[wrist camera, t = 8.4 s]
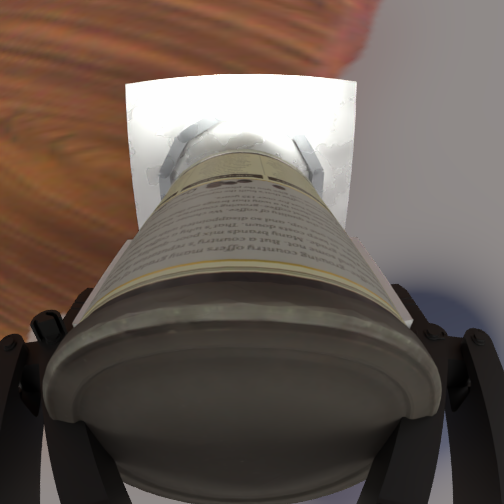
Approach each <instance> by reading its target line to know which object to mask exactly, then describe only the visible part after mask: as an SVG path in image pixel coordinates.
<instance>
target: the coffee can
mask: <svg viewBox="0 0 504 504" xmlns="http://www.w3.org/2000/svg"><path fill="white" fill-rule="evenodd" d="M441 392H442V386H441V380H440V376H439V372H438V369H437V367H436V365H435V363H434V361H433V359H432V357H431V356H430V354H429V352H428V351H427V349H426V348H425V346H424V345H423V343H422V342H421V341H420V339H419V338H418V337H417V336H416V335H415V333H414V332H413V331H412V330H410V329H409V328H408V327H407V325H406V324H405V322H404V321H403V319H402V317H401V316H400V314H399V312H398V311H397V309H396V307H395V306H394V304H393V302H392V301H391V299H390V298H389V296H388V294H387V293H386V291H385V290H384V288H383V287H382V285H381V283H380V282H379V280H378V279H377V277H376V276H375V274H374V273H373V271H372V270H371V268H370V267H369V265H368V264H367V262H366V261H365V259H364V258H363V256H362V255H361V254H360V252H359V251H358V249H357V248H356V246H355V245H354V243H353V242H352V240H351V239H350V238H349V236H348V235H347V233H346V232H345V230H344V229H343V228H342V226H341V225H340V223H339V222H338V221H337V219H336V218H335V217H334V215H333V214H332V212H331V211H330V210H329V208H328V207H327V205H326V204H325V203H324V202H323V200H322V199H321V198H320V196H319V195H318V193H317V191H316V189H315V188H314V187H313V185H312V183H311V182H310V181H309V179H308V178H307V177H306V176H305V175H304V174H303V173H302V172H301V171H300V170H298V169H297V168H296V167H295V166H293V165H292V164H290V163H289V162H287V161H285V160H283V159H282V158H279V157H277V156H275V155H272V154H269V153H266V152H262V151H257V150H252V149H238V150H227V151H223V152H219V153H215V154H212V155H210V156H207V157H205V158H203V159H201V160H199V161H197V162H196V163H194V164H193V165H191V166H190V167H189V168H187V169H186V170H184V171H183V172H182V173H181V174H180V175H179V177H178V178H177V179H176V180H175V181H174V182H173V184H172V185H171V187H170V188H169V190H168V192H167V193H166V195H165V197H164V198H163V199H162V201H161V202H160V203H159V205H158V206H157V207H156V209H155V210H154V211H153V213H152V214H151V215H150V217H149V218H148V219H147V220H146V222H145V223H144V224H143V226H142V227H141V229H140V230H139V232H138V233H137V234H136V236H135V237H134V239H133V240H132V241H131V243H130V244H129V246H128V247H127V249H126V250H125V252H124V253H123V255H122V256H121V257H120V259H119V260H118V262H117V263H116V265H115V266H114V268H113V269H112V270H111V272H110V274H109V275H108V277H107V278H106V280H105V282H104V283H103V285H102V286H101V288H100V289H99V291H98V293H97V294H96V296H95V297H94V299H93V300H92V302H91V304H90V305H89V307H88V309H87V310H86V312H85V313H84V315H83V317H82V318H81V320H80V322H79V324H77V325H76V326H75V327H74V328H73V329H72V330H70V331H69V332H68V334H67V335H66V336H65V337H64V339H63V340H62V341H61V343H60V344H59V346H58V347H57V349H56V351H55V352H54V354H53V355H52V357H51V359H50V360H49V362H48V364H47V367H46V371H45V375H44V378H43V398H44V402H45V406H46V409H47V411H48V413H49V416H50V417H51V418H52V419H53V420H61V421H65V422H69V423H76V422H77V421H80V420H82V421H84V422H85V423H86V425H87V426H88V427H89V429H90V430H91V432H92V433H93V434H94V436H95V437H96V438H97V440H98V441H99V442H100V444H101V445H102V446H103V447H104V449H105V450H106V451H107V452H108V454H109V455H110V456H111V457H112V458H113V460H114V461H115V463H116V465H117V468H118V471H119V473H120V476H121V478H122V481H123V482H124V483H126V484H129V485H131V486H133V487H136V488H138V489H141V490H143V491H146V492H149V493H152V494H155V495H158V496H161V497H165V498H169V499H173V500H177V501H182V502H187V503H191V504H292V503H298V502H303V501H307V500H312V499H316V498H319V497H322V496H326V495H330V494H333V493H335V492H338V491H342V490H344V489H347V488H349V487H352V486H354V485H356V484H358V483H360V482H362V481H364V480H366V479H367V476H368V473H369V471H370V468H371V465H372V462H373V459H374V457H375V456H376V455H377V453H378V452H379V451H380V449H381V448H382V447H383V445H384V444H385V442H386V441H387V440H388V438H389V437H390V435H391V434H392V432H393V431H394V429H395V428H396V426H397V425H398V423H399V421H400V420H401V418H402V417H407V418H409V419H417V418H421V417H425V416H433V415H434V414H436V413H437V411H438V408H439V404H440V400H441Z"/></svg>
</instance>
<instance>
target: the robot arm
mask: <svg viewBox="0 0 504 504" xmlns="http://www.w3.org/2000/svg"><path fill="white" fill-rule="evenodd" d="M349 238H350V239H351V240H352V242H353V243H354V245H355V246H356V248H357V249H358V251H359V252H360V254H361V255H362V256H363V258H364V259H365V261H366V262H367V264H368V265H369V267H370V268H371V270H372V271H373V273H374V274H375V276H376V277H377V279H378V280H379V282H380V283H381V285H382V287H383V288H384V290H385V291H386V293H387V294H388V296H389V298H390V299H391V301H392V302H393V304H394V306H395V307H396V309H397V311H398V312H399V314H400V316H401V317H402V319H403V321H404V322H405V324H406V325H407V327H408V328H409V329H410V330H412V331H413V332H414V333H415V335H416V336H417V337H418V338H419V339H420V341H421V342H422V343H423V345H424V346H425V348H426V349H427V351H428V352H429V354H430V356H431V357H432V359H433V361H434V363H435V365H436V367H437V369H438V372H439V376H440V380H441V386H442V392H441V400H440V404H439V408H438V411H437V413H436V414H434V415H433V416H425V417H421V418H417V419H409V418H407V417H402V418H401V420H400V421H399V423H398V425H397V426H396V428H395V429H394V431H393V432H392V434H391V435H390V437H389V438H388V440H387V441H386V442H385V444H384V445H383V447H382V448H381V449H380V451H379V452H378V453H377V455H376V456H375V457H374V459H373V462H372V465H371V468H370V471H369V473H368V476H367V479H366V482H365V484H364V487H363V489H362V492H361V495H360V497H359V499H358V501H357V504H428V500H429V496H430V492H431V488H432V484H433V479H434V474H435V470H436V465H437V459H438V454H439V448H440V442H441V435H442V428H443V419H444V411H445V413H446V420H447V427H448V435H449V444H450V454H451V466H452V481H453V504H504V370H503V368H502V365H501V363H500V360H499V357H498V355H497V352H496V350H495V348H494V345H493V342H492V340H491V338H490V337H489V336H488V334H486V333H485V332H484V331H482V330H480V329H476V328H470V329H468V330H467V331H466V332H465V334H464V337H463V338H460V337H452V336H448V335H447V333H446V332H445V330H444V329H443V328H441V327H440V326H438V325H436V324H432V323H429V322H428V321H427V319H426V318H425V316H424V315H423V313H422V312H421V310H420V309H419V308H418V306H417V305H416V303H415V302H414V300H413V299H412V297H411V296H410V294H409V293H408V292H407V290H406V289H404V288H403V287H402V286H400V285H399V284H390V283H389V282H388V280H387V279H386V278H385V276H384V274H383V273H382V272H381V270H380V269H379V267H378V266H377V265H376V263H375V262H374V260H373V259H372V257H371V256H370V254H369V253H368V252H367V250H366V249H365V247H364V246H363V245H362V243H361V242H360V240H359V239H358V238H357V237H349ZM131 241H132V240H127V241H126V242H125V244H124V245H123V247H122V248H121V249H120V251H119V252H118V254H117V255H116V256H115V258H114V259H113V261H112V262H111V264H110V265H109V267H108V268H107V270H106V271H105V273H104V274H103V276H102V277H101V279H100V280H99V282H98V283H97V285H96V286H95V288H87V289H86V290H84V291H83V292H82V293H81V294H79V296H78V297H77V299H76V300H75V303H73V305H72V306H71V309H69V311H68V312H67V314H66V316H65V317H64V319H62V317H61V315H60V313H59V312H58V311H56V310H46V311H43V312H41V313H39V314H38V315H36V316H35V317H34V318H33V320H32V321H31V324H30V326H31V328H32V330H33V332H34V334H35V336H36V338H37V340H38V341H36V342H29V343H25V342H24V340H23V338H22V336H21V335H19V334H10V335H8V336H6V337H4V338H3V339H2V340H1V341H0V504H40V466H41V450H42V437H43V428H44V426H45V433H46V440H47V446H48V451H49V456H50V462H51V466H52V471H53V475H54V480H55V484H56V488H57V492H58V495H59V499H60V503H61V504H132V502H131V500H130V498H129V495H128V493H127V491H126V488H125V486H124V484H123V481H122V478H121V476H120V473H119V471H118V468H117V465H116V463H115V461H114V460H113V458H112V457H111V456H110V455H109V454H108V452H107V451H106V450H105V449H104V447H103V446H102V445H101V444H100V442H99V441H98V440H97V438H96V437H95V436H94V434H93V433H92V432H91V430H90V429H89V427H88V426H87V425H86V423H85V422H84V421H82V420H80V421H77V422H76V423H69V422H65V421H61V420H53V419H52V418H51V417H50V416H49V413H48V411H47V409H46V406H45V402H44V398H43V378H44V375H45V371H46V367H47V364H48V362H49V360H50V359H51V357H52V355H53V354H54V352H55V351H56V349H57V347H58V346H59V344H60V343H61V341H62V340H63V339H64V337H65V336H66V335H67V334H68V332H69V331H70V330H72V329H73V328H74V327H75V326H76V325H77V324H79V322H80V320H81V318H82V317H83V315H84V313H85V312H86V310H87V309H88V307H89V305H90V304H91V302H92V300H93V299H94V297H95V296H96V294H97V293H98V291H99V289H100V288H101V286H102V285H103V283H104V282H105V280H106V278H107V277H108V275H109V274H110V272H111V270H112V269H113V268H114V266H115V265H116V263H117V262H118V260H119V259H120V257H121V256H122V255H123V253H124V252H125V250H126V249H127V247H128V246H129V244H130V243H131Z"/></svg>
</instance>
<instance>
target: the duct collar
mask: <svg viewBox="0 0 504 504" xmlns="http://www.w3.org/2000/svg"><path fill="white" fill-rule="evenodd" d="M356 84H357V83H356V82H355V81H347V80H339V79H329V78H319V77H306V76H290V75H258V74H242V75H209V76H193V77H181V78H170V79H161V80H153V81H145V82H138V83H131V84H126V109H127V126H128V140H129V152H130V163H131V172H132V181H133V190H134V198H135V205H136V213H137V219H138V226H139V230H140V229H141V227H142V226H143V224H144V223H145V222H146V220H147V219H148V218H149V217H150V215H151V214H152V213H153V211H154V210H155V209H156V207H157V206H158V205H159V203H160V202H161V201H162V199H163V198H164V197H165V195H166V193H167V192H168V190H169V188H170V187H171V185H172V184H173V182H174V181H175V180H176V179H177V178H178V177H179V175H180V174H181V173H182V172H183V171H184V170H186V169H187V168H189V167H190V166H191V165H193V164H194V163H196V162H197V161H199V160H201V159H203V158H205V157H207V156H210V155H212V154H215V153H219V152H223V151H227V150H238V149H252V150H257V151H262V152H266V153H269V154H272V155H275V156H277V157H279V158H282V159H283V160H285V161H287V162H289V163H290V164H292V165H293V166H295V167H296V168H297V169H298V170H300V171H301V172H302V173H303V174H304V175H305V176H306V177H307V178H308V179H309V181H310V182H311V183H312V185H313V187H314V188H315V189H316V191H317V193H318V195H319V196H320V198H321V199H322V200H323V202H324V203H325V204H326V205H327V207H328V208H329V210H330V211H331V212H332V214H333V215H334V217H335V218H336V219H337V221H338V222H339V223H340V225H341V226H342V228H343V229H344V230H345V225H346V217H347V209H348V200H349V191H350V181H351V170H352V158H353V145H354V130H355V112H356V111H355V110H356Z"/></svg>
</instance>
